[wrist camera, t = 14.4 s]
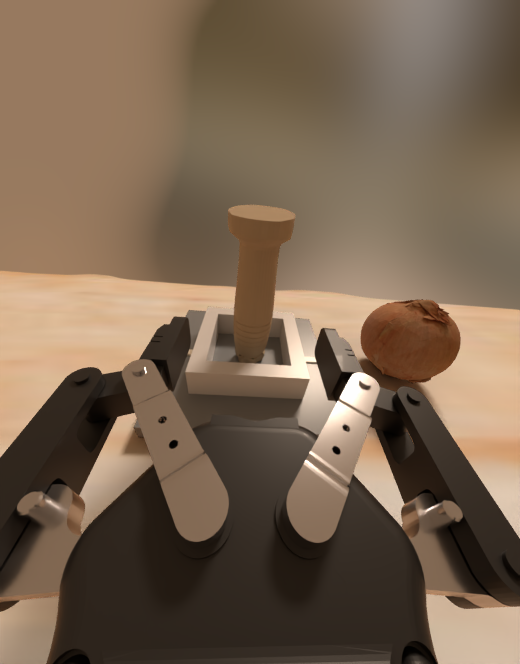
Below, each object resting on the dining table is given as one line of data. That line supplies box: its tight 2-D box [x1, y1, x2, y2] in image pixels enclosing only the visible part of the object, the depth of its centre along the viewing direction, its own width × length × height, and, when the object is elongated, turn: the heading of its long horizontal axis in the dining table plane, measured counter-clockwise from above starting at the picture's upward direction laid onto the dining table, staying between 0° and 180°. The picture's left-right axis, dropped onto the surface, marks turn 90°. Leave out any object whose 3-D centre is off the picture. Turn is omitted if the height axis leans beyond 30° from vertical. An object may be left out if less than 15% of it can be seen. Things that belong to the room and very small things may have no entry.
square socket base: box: [134, 307, 336, 437], centre depth 25 cm, size 18×18×4 cm
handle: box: [228, 205, 295, 364], centre depth 21 cm, size 5×6×15 cm
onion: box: [361, 299, 460, 383], centre depth 25 cm, size 10×9×10 cm
